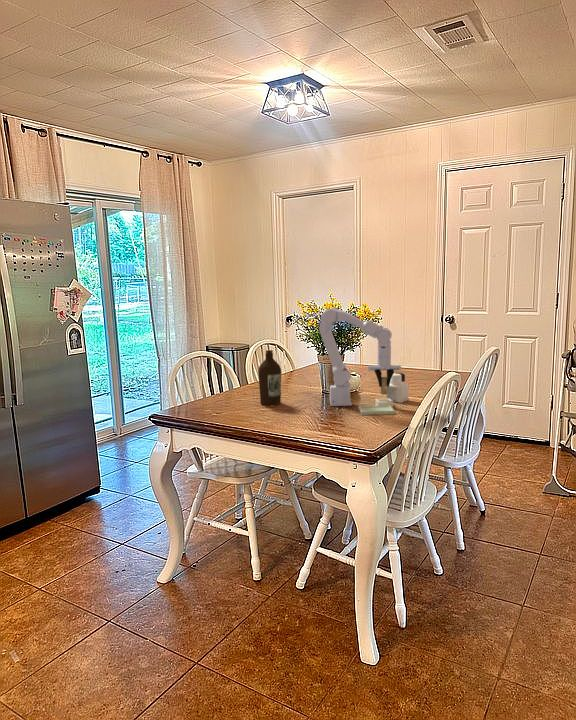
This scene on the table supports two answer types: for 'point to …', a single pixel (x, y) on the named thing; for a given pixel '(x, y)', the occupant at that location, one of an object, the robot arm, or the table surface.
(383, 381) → the dowel
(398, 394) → the container
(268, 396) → the olive oil
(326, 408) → the table surface
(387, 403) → the square block with hole
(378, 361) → the robot arm
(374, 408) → the tray
